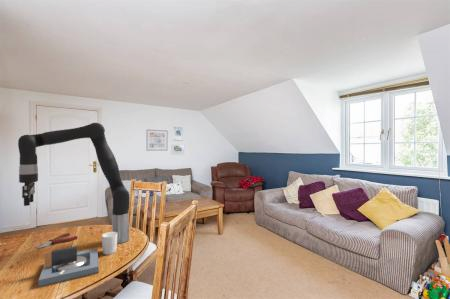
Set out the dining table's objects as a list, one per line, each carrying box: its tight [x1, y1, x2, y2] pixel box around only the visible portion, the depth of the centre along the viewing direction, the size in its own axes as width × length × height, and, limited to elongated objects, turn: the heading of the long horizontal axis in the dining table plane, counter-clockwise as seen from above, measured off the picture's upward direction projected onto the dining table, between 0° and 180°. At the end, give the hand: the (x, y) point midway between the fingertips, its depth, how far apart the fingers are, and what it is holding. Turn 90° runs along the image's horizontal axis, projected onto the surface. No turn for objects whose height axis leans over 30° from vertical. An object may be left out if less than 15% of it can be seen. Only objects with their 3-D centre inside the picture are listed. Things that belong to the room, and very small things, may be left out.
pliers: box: [34, 232, 78, 249], centre depth 139 cm, size 12×20×3 cm, turn 151°
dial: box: [44, 245, 86, 272], centre depth 109 cm, size 16×12×9 cm
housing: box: [37, 248, 100, 288], centre depth 110 cm, size 22×22×3 cm
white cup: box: [101, 231, 118, 256], centre depth 127 cm, size 8×8×10 cm
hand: (28, 203), depth 119 cm, fingers open, 8 cm apart
